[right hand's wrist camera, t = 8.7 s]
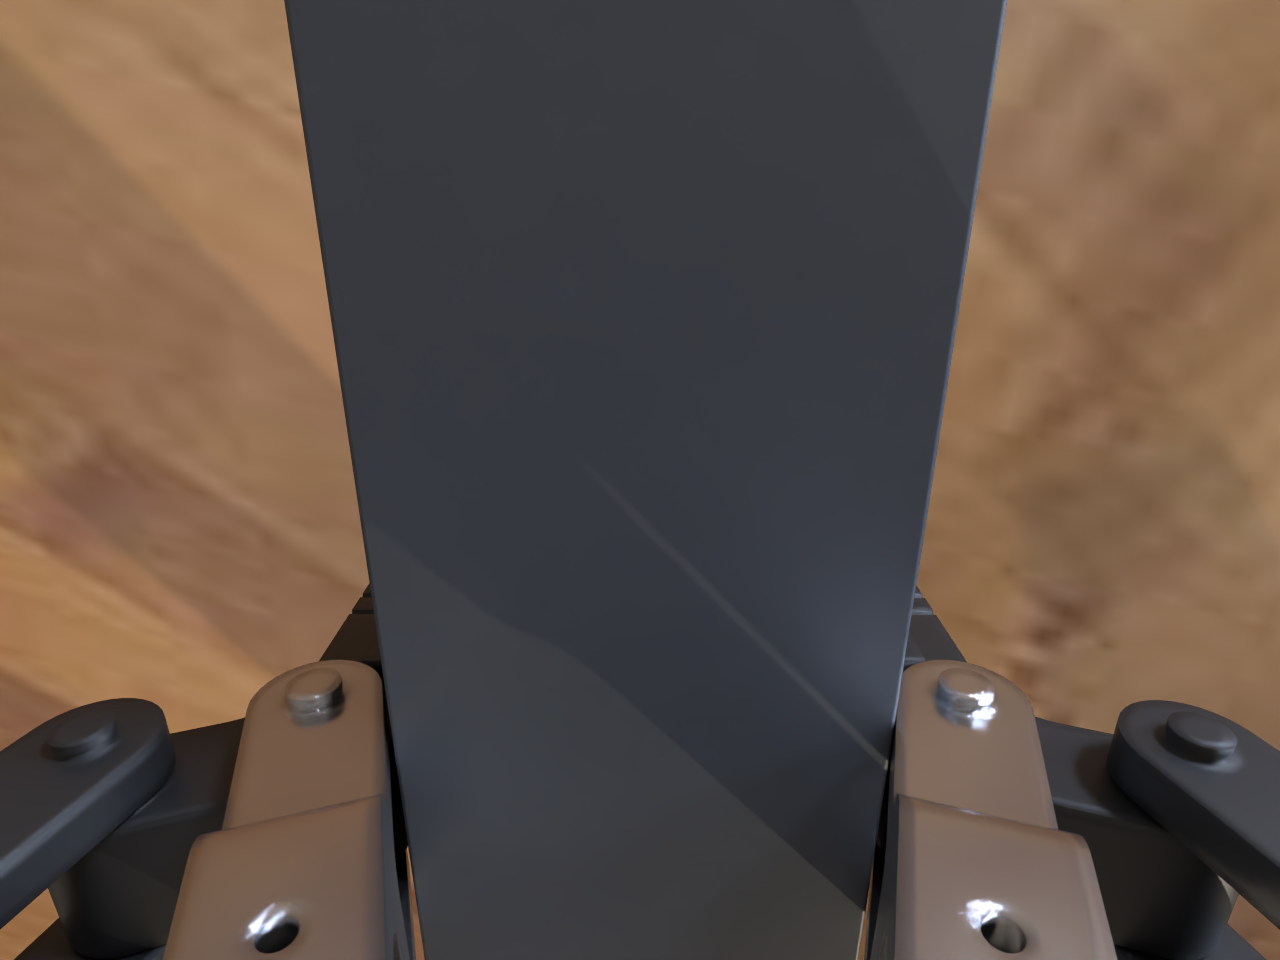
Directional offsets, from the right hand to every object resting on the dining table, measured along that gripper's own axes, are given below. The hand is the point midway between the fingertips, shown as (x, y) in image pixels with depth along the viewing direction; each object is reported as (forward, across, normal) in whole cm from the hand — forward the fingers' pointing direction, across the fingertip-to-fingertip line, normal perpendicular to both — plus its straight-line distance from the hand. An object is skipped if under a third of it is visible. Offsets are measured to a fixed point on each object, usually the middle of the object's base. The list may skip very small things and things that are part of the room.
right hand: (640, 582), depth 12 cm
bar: (+4, 0, -18) cm, 18 cm away
